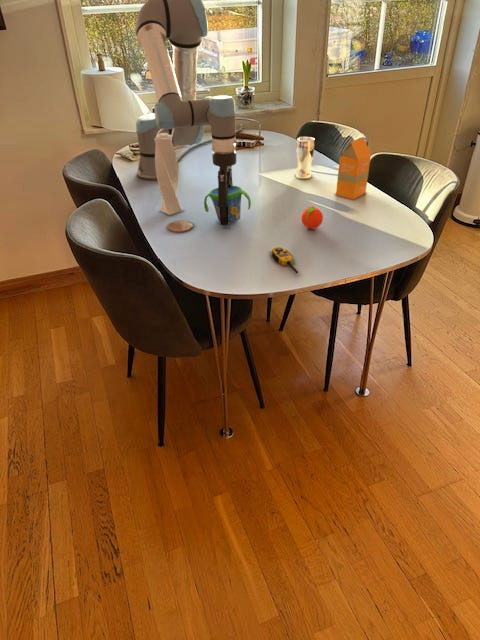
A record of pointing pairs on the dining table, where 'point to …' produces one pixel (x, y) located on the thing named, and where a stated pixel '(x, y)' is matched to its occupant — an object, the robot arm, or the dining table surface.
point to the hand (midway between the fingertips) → (226, 218)
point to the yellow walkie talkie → (283, 257)
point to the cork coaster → (180, 226)
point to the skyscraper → (167, 172)
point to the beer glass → (304, 156)
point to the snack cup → (229, 202)
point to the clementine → (312, 217)
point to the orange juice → (353, 170)
